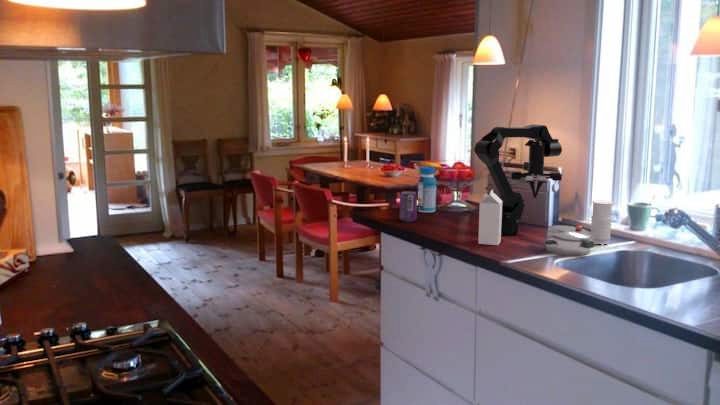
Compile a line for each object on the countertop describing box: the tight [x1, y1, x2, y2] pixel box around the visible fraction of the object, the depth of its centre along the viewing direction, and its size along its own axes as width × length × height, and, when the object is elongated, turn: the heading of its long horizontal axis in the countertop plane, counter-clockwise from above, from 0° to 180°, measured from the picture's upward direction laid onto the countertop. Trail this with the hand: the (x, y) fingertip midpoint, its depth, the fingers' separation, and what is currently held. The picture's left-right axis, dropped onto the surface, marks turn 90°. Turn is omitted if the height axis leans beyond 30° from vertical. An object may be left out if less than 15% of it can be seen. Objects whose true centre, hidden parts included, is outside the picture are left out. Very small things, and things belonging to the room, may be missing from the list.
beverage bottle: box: [417, 165, 438, 213], centre depth 289 cm, size 8×8×20 cm
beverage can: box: [399, 190, 418, 223], centre depth 268 cm, size 7×7×12 cm
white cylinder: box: [590, 199, 614, 245], centre depth 229 cm, size 7×7×15 cm
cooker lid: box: [546, 224, 592, 241], centre depth 218 cm, size 14×14×2 cm
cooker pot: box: [544, 233, 595, 257], centre depth 218 cm, size 16×20×5 cm
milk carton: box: [477, 189, 502, 246], centre depth 229 cm, size 7×7×19 cm
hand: (534, 197), depth 249 cm, fingers closed
